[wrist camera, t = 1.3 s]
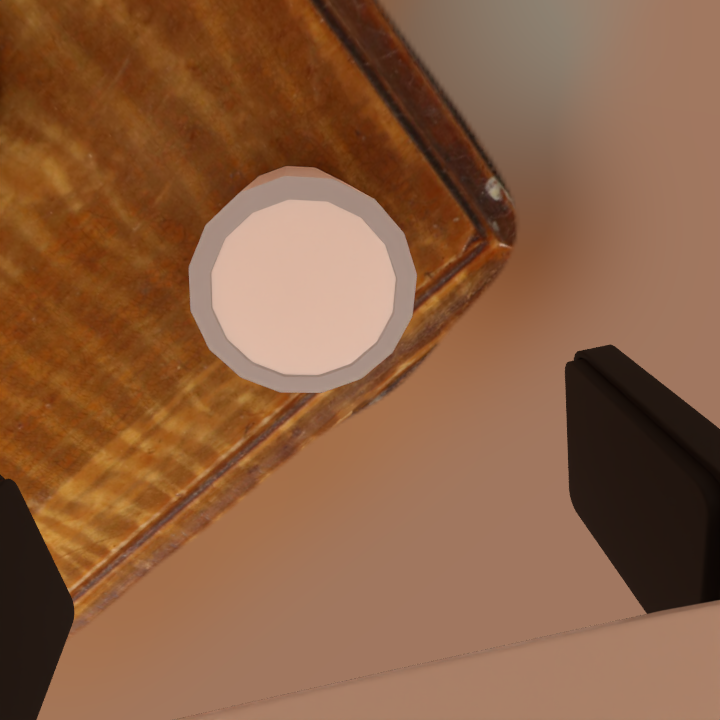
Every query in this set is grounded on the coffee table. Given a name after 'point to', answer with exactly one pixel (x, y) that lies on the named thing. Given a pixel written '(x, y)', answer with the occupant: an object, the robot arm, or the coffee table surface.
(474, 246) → the coffee table surface
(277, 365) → the shot glass
